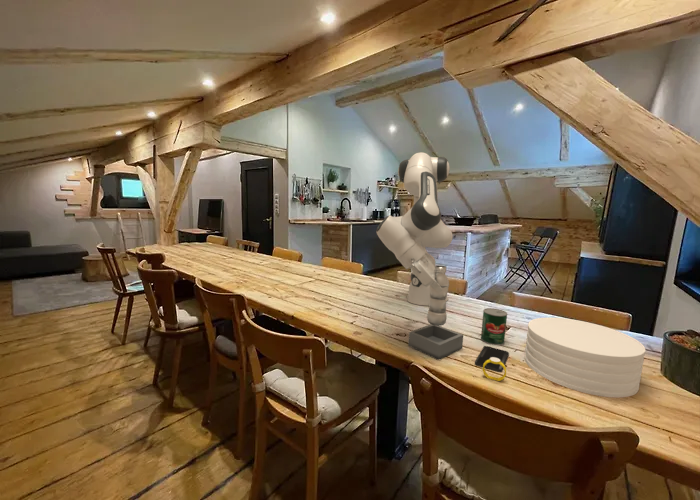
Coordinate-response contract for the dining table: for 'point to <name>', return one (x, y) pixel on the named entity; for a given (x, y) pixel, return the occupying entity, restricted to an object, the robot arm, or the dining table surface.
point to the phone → (487, 354)
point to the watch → (494, 361)
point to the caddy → (435, 341)
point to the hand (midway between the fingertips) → (441, 288)
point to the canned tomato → (493, 326)
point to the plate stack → (584, 356)
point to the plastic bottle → (438, 298)
